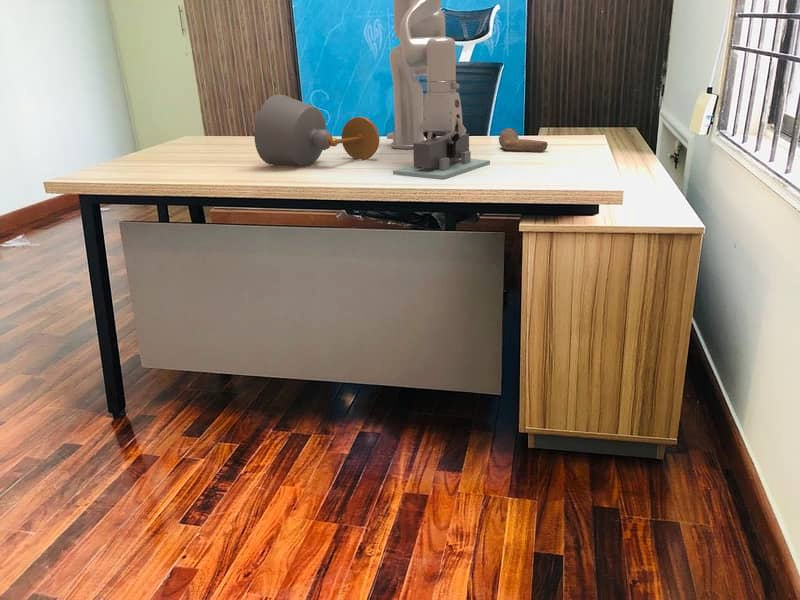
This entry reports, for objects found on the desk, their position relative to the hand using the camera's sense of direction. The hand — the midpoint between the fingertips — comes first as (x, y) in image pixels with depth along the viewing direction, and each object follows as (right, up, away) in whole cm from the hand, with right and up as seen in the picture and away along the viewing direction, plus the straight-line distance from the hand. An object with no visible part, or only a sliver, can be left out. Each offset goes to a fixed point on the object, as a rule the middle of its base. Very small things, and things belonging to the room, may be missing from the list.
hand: (442, 156), depth 190 cm
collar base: (0, -3, +1) cm, 3 cm away
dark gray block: (0, -1, 0) cm, 1 cm away
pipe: (+26, +7, +27) cm, 39 cm away
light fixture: (-35, +1, +15) cm, 39 cm away
